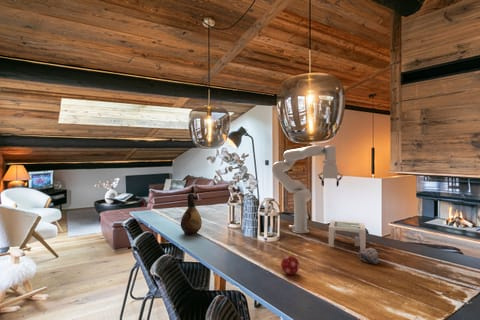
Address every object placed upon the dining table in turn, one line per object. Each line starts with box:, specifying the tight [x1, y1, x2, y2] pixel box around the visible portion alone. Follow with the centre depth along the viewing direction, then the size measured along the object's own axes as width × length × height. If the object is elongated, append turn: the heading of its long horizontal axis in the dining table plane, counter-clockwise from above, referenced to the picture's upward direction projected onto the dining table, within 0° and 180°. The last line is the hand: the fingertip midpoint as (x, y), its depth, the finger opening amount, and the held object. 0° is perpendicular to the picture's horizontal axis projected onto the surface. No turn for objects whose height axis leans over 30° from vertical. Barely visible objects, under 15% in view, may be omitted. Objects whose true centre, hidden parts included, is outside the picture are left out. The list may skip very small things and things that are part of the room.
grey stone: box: [354, 236, 360, 247], centre depth 180 cm, size 5×5×5 cm
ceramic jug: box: [180, 192, 203, 237], centre depth 205 cm, size 17×15×30 cm
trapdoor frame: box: [328, 220, 367, 251], centre depth 183 cm, size 22×21×12 cm
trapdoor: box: [335, 222, 359, 235], centre depth 183 cm, size 15×14×1 cm
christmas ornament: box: [280, 252, 300, 276], centre depth 134 cm, size 9×9×10 cm
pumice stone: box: [358, 247, 380, 265], centre depth 152 cm, size 10×8×10 cm
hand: (330, 186), depth 200 cm, fingers open, 9 cm apart
